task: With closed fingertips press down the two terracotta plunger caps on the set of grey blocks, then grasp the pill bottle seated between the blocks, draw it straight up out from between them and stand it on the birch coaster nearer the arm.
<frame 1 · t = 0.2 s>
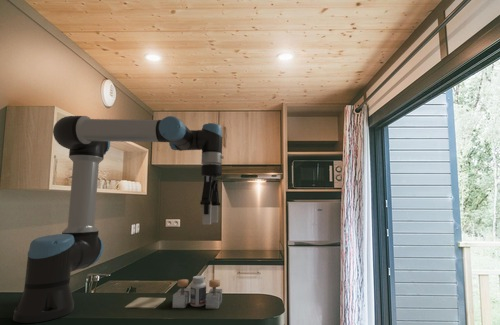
hand: (210, 223, 102), 27 cm above the counter, fingers open, 13 cm apart
plunger a: (182, 288, 98), point 5 cm above the counter, slide at 0.0 cm
pill bottle: (198, 305, 96), on the counter
set of grey blocks: (198, 304, 96), on the counter
coaster: (146, 303, 98), on the counter
plunger b: (214, 288, 97), point 5 cm above the counter, slide at 0.0 cm
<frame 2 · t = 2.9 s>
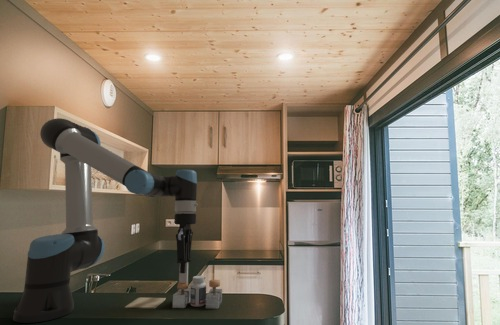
hand: (183, 282, 98), 7 cm above the counter, fingers closed
plunger a: (182, 290, 97), point 4 cm above the counter, slide at 0.9 cm, touching gripper
everything else where it was.
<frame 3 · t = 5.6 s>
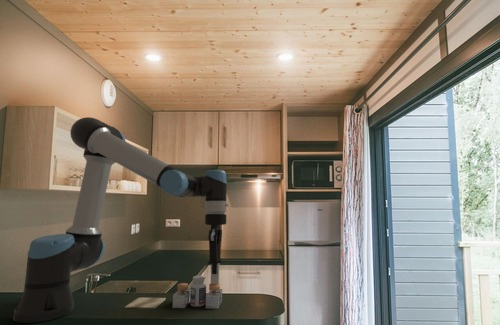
hand: (214, 283, 97), 7 cm above the counter, fingers closed
plunger a: (182, 292, 97), point 4 cm above the counter, slide at 1.3 cm
plunger b: (214, 291, 97), point 4 cm above the counter, slide at 1.1 cm, touching gripper
everything else where it was.
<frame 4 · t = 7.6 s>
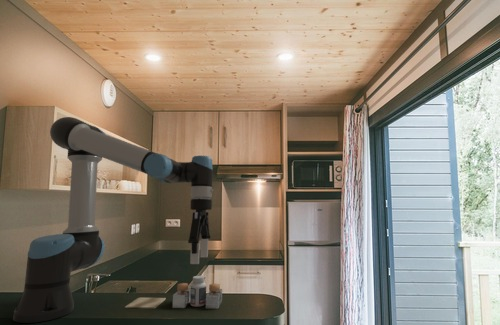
hand: (199, 260, 99), 14 cm above the counter, fingers open, 13 cm apart
plunger b: (214, 292, 97), point 4 cm above the counter, slide at 1.3 cm
everything else where it was.
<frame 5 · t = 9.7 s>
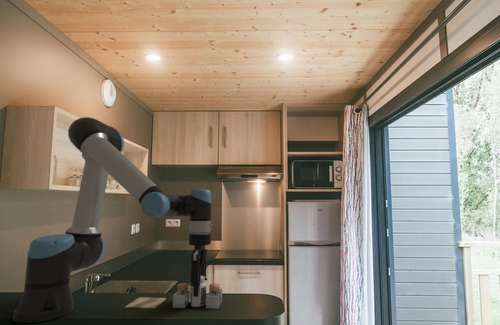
hand: (198, 303, 96), 0 cm above the counter, fingers closed on pill bottle, 5 cm apart
pill bottle: (198, 305, 96), on the counter, touching gripper
everything else where it was.
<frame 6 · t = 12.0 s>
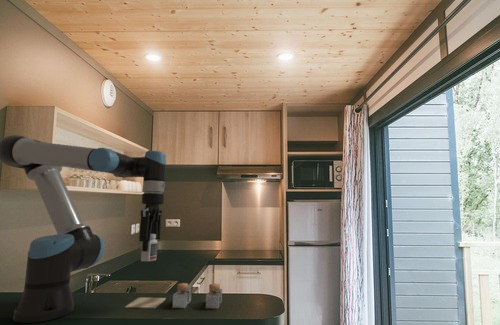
hand: (148, 259, 100), 14 cm above the counter, fingers closed on pill bottle, 5 cm apart
pill bottle: (148, 260, 100), point 14 cm above the counter, touching gripper
everything else where it was.
when the fingers open (2 cm above the counter, at t = 14.7 s): pill bottle drops 1 cm, resting on coaster.
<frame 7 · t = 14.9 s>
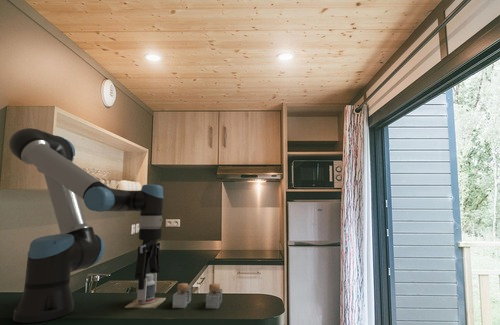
hand: (146, 295, 98), 2 cm above the counter, fingers open, 8 cm apart
pill bottle: (146, 302, 98), resting on coaster
everything else where it was.
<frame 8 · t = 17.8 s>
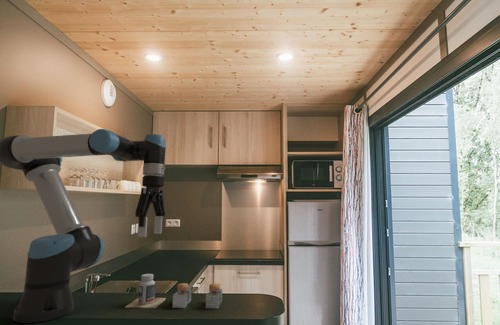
hand: (150, 235, 101), 23 cm above the counter, fingers open, 13 cm apart
nothing on the counter moved.
at the end: pill bottle inside the target area on the coaster (0.1 cm from its centre), point 0.2 cm above the coaster's base; pill bottle tilted 0°; plunger b slide at 1.3 cm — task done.
